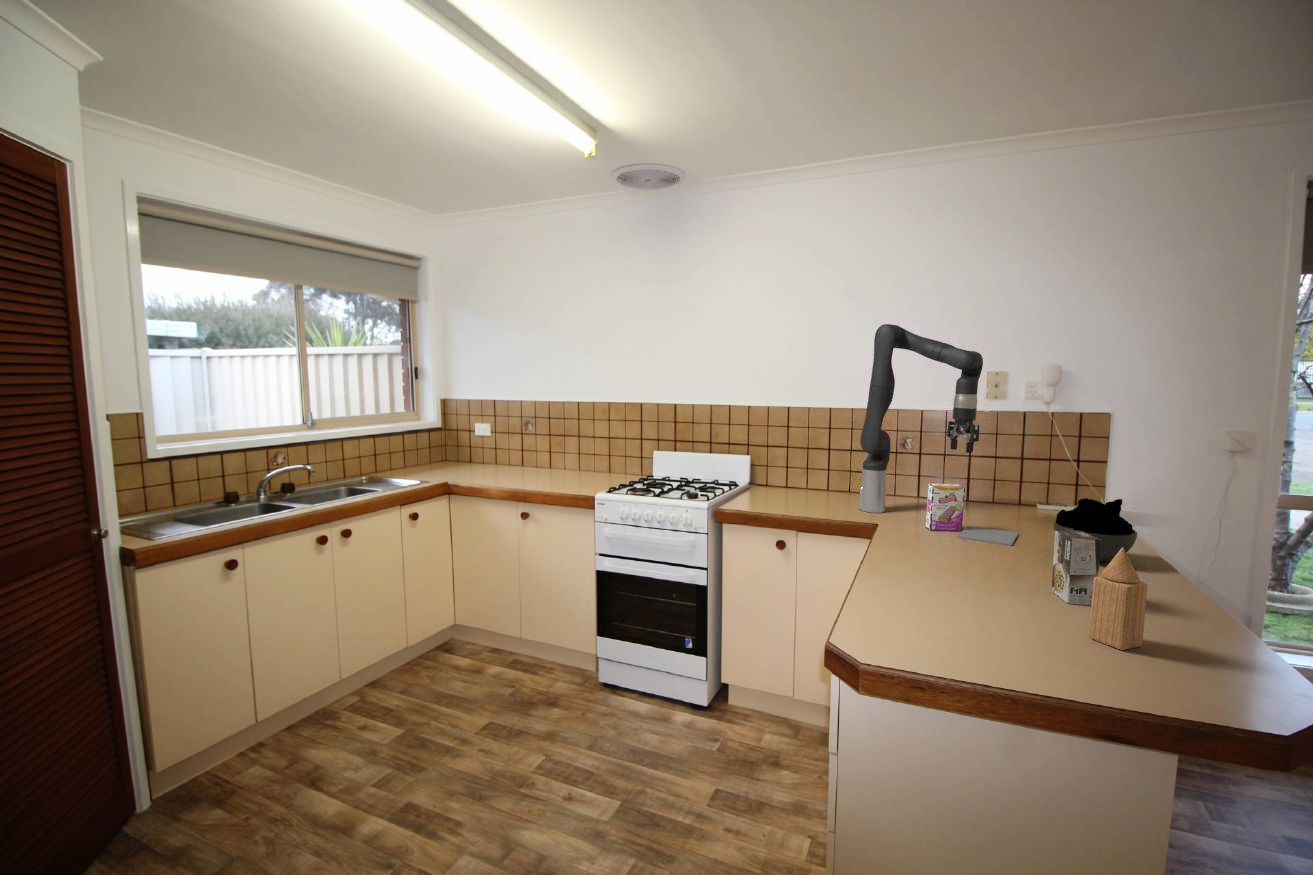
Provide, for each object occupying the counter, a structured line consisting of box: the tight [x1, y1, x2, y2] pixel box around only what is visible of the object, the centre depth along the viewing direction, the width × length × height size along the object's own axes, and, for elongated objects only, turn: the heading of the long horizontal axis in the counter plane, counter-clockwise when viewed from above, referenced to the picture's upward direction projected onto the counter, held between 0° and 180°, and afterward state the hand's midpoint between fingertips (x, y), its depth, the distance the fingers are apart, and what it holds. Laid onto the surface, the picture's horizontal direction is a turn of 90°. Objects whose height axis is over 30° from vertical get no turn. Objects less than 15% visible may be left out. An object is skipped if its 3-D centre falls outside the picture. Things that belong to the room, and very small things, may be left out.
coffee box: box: [1051, 530, 1101, 606], centre depth 144 cm, size 9×6×16 cm
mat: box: [956, 525, 1019, 547], centre depth 204 cm, size 16×18×1 cm
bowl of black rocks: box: [1053, 497, 1138, 563], centre depth 176 cm, size 20×20×19 cm
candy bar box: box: [925, 483, 966, 532], centre depth 211 cm, size 11×5×16 cm, turn 84°
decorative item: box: [1088, 547, 1148, 651], centre depth 120 cm, size 7×7×20 cm
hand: (961, 451), depth 215 cm, fingers open, 8 cm apart
